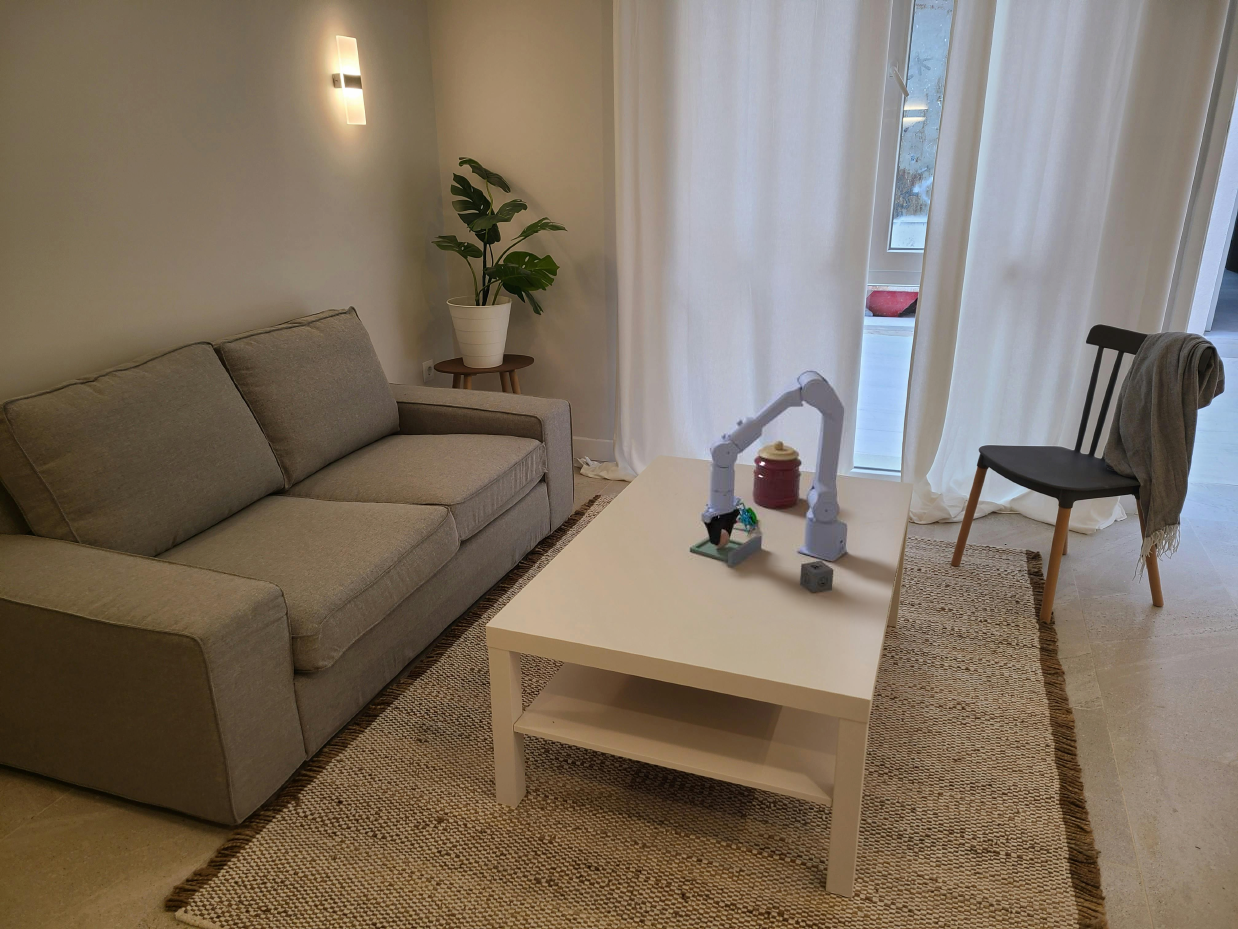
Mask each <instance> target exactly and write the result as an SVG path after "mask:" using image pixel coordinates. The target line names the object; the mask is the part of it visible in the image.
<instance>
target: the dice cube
mask: <svg viewBox="0 0 1238 929" xmlns="http://www.w3.org/2000/svg"><path fill="white" fill-rule="evenodd" d="M800 567H801V569H800V580H799V585H800V586H802V587H803V588H804V589H805V590H807V591H808V592H810V593H811V594H818V593H823V592H828V591H832V590H833V581H834V569H833V568H832V567H831V566H829V565H828V564H827V563H825V562H824V561H822V560H817V561H812V562H811V561H810V562H806V563H801V566H800Z"/></svg>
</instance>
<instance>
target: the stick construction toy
mask: <svg viewBox="0 0 1238 929" xmlns="http://www.w3.org/2000/svg"><path fill="white" fill-rule="evenodd" d="M741 505H742V507H743V508H742V507H738V506H736V507H735V509H738V510H740V515H739V516H738V518H737V519H736V521H735V524H734V525H737V524H741V523H743V525H744V529H745V531H746V533H747V532H748V533H750V532H751V529H749V528H748V527H747V526H749V527H752V531H755V530H757V527H756V525H755V524H757V523H758V517H757V515H756V514H757V513H756V512H755V511H754V510H753V509H752V508H751V507H747V508H746V504H745V503H744V502H743V501H741V502H740V506H741Z"/></svg>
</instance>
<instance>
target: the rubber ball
mask: <svg viewBox="0 0 1238 929" xmlns="http://www.w3.org/2000/svg"><path fill="white" fill-rule="evenodd" d="M730 539H731V536H729V534H728V532H727V531H725V530H723V529H722V532H721V538H720V543H719V545H715V546H716V547H719V548H722V547H725V546H726V545H727V544H728V543H729V540H730Z"/></svg>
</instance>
